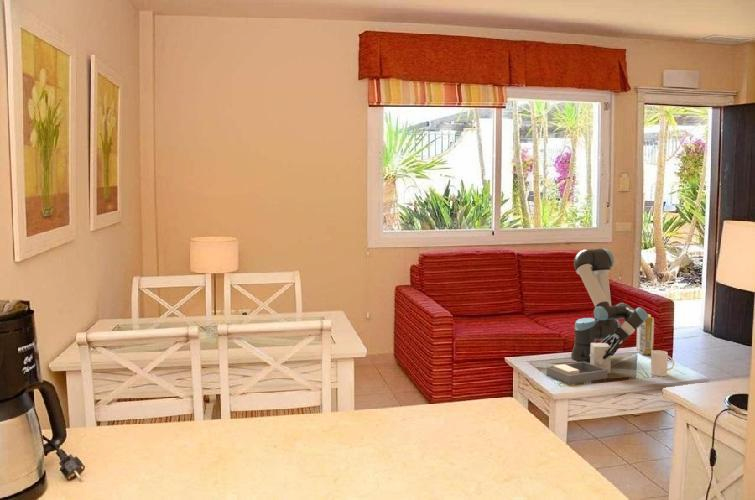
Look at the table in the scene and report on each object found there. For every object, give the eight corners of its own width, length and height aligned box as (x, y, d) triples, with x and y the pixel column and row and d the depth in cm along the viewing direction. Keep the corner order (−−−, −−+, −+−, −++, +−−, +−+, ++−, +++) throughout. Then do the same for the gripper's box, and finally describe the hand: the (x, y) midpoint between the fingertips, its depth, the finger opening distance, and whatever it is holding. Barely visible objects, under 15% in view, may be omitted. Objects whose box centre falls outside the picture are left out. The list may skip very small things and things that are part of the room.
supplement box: (606, 369, 349) (607, 342, 348) (610, 373, 340) (611, 346, 339) (589, 368, 350) (590, 342, 348) (593, 373, 341) (594, 346, 340)
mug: (676, 375, 337) (677, 353, 336) (669, 378, 331) (670, 356, 330) (654, 370, 346) (655, 349, 345) (647, 373, 340) (648, 352, 339)
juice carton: (654, 355, 377) (655, 315, 374) (641, 355, 377) (642, 315, 375) (647, 351, 386) (649, 312, 384) (634, 351, 386) (636, 312, 384)
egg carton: (553, 375, 335) (553, 365, 335) (563, 374, 338) (564, 364, 337) (568, 382, 324) (568, 371, 324) (579, 380, 327) (579, 370, 326)
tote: (546, 375, 337) (546, 366, 337) (583, 370, 347) (583, 361, 346) (568, 385, 321) (569, 375, 320) (607, 379, 330) (607, 370, 330)
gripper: (637, 340, 333) (607, 370, 334) (619, 331, 355) (591, 359, 356) (628, 331, 332) (598, 360, 333) (610, 322, 354) (582, 350, 355)
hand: (594, 359), depth 344 cm, fingers closed on supplement box, 9 cm apart
